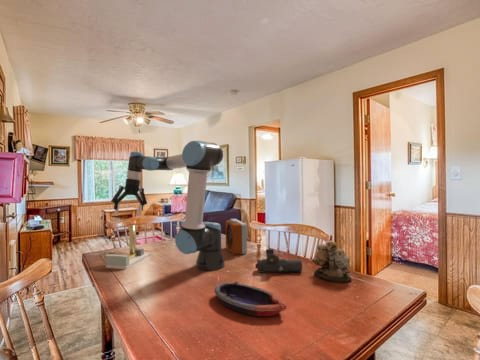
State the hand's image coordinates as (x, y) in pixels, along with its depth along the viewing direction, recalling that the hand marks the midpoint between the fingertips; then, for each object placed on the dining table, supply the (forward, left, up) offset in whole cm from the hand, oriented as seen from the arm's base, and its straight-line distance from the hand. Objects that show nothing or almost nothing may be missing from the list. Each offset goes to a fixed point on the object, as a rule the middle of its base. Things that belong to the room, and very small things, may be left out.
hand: (127, 215), depth 155 cm
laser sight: (-45, -72, -26) cm, 89 cm away
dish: (-73, -46, -26) cm, 90 cm away
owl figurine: (-60, -92, -26) cm, 113 cm away
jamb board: (-3, 0, -26) cm, 26 cm away
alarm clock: (-3, -63, -26) cm, 69 cm away
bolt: (+1, -2, -24) cm, 24 cm away
